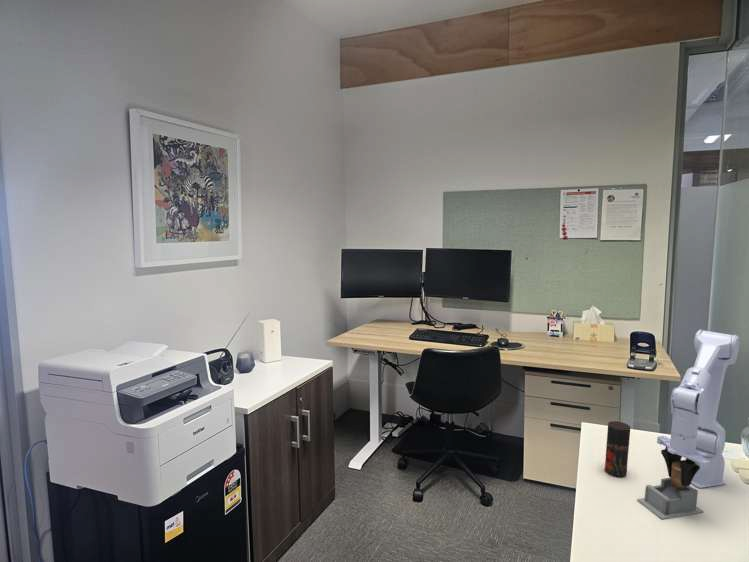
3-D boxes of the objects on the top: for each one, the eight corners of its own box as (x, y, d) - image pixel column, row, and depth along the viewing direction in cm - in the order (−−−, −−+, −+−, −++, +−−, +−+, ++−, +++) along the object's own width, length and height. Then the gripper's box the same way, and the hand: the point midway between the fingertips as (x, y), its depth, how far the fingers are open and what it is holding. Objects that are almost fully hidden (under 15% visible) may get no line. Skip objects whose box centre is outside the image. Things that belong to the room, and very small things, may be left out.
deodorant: (629, 478, 143) (633, 430, 141) (607, 476, 144) (611, 428, 142) (623, 468, 149) (626, 422, 147) (602, 466, 150) (605, 420, 148)
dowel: (667, 482, 131) (668, 462, 130) (678, 481, 131) (680, 460, 130) (678, 490, 127) (679, 469, 126) (689, 488, 128) (691, 467, 127)
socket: (676, 494, 135) (678, 474, 134) (703, 512, 127) (705, 491, 126) (637, 500, 132) (638, 480, 131) (661, 519, 124) (663, 498, 123)
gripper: (649, 422, 133) (645, 468, 135) (695, 447, 119) (690, 498, 121) (671, 420, 135) (666, 465, 137) (718, 444, 121) (713, 494, 123)
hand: (679, 480), depth 129 cm, fingers closed on dowel, 3 cm apart
